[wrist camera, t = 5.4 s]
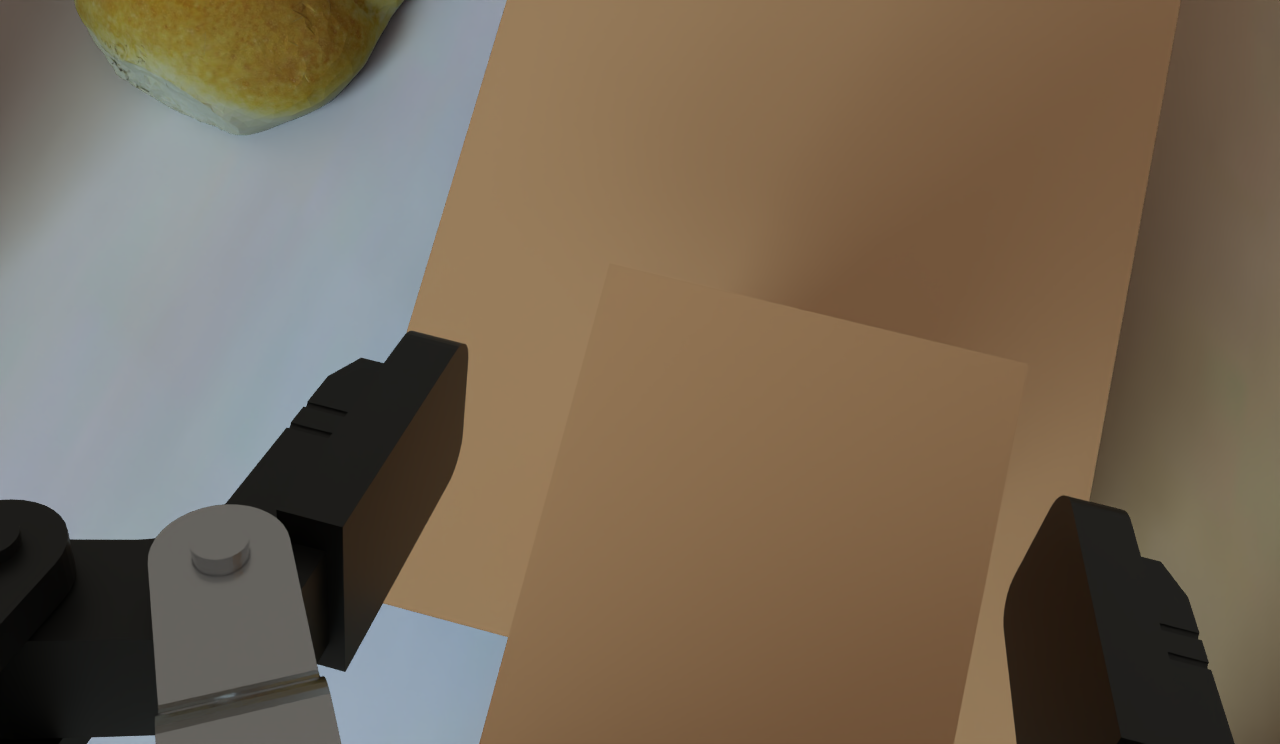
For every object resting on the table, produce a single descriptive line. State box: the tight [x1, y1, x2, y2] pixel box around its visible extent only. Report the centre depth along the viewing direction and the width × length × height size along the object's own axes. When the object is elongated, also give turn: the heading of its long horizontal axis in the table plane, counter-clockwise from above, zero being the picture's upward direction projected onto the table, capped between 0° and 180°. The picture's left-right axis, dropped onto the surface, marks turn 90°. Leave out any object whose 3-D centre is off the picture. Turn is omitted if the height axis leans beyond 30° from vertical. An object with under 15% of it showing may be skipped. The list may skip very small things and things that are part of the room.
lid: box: [383, 0, 1181, 744], centre depth 14 cm, size 13×17×13 cm
